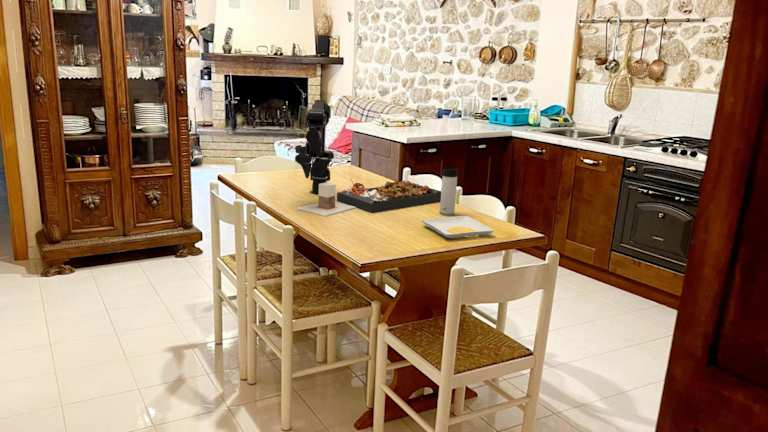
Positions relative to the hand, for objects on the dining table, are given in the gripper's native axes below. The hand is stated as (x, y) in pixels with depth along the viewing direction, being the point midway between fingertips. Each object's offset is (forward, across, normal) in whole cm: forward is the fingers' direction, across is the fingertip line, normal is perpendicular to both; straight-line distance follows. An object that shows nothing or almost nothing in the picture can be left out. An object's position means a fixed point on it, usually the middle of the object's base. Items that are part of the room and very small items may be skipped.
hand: (314, 176), depth 266 cm
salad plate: (+13, -10, +64) cm, 67 cm away
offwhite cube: (+7, 0, +7) cm, 10 cm away
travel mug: (+13, -30, +49) cm, 59 cm away
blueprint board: (+13, 0, +7) cm, 15 cm away
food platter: (+14, -33, +19) cm, 40 cm away
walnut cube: (+12, 0, +7) cm, 14 cm away
